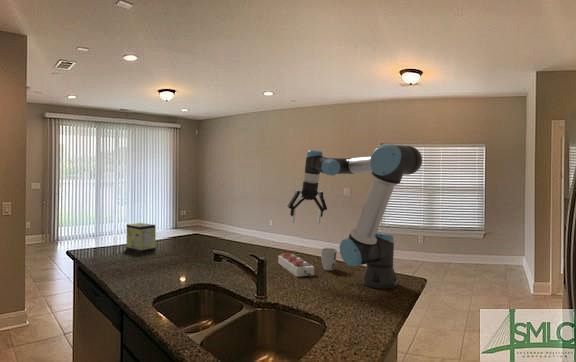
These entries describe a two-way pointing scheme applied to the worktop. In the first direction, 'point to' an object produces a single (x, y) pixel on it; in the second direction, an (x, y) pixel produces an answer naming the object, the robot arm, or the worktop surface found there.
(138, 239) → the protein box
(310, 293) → the worktop surface
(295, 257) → the plate
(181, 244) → the worktop surface
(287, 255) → the block
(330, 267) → the cup
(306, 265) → the power strip
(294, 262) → the rocker
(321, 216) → the robot arm
